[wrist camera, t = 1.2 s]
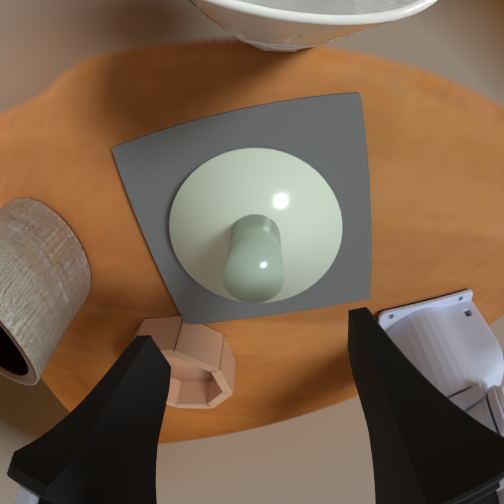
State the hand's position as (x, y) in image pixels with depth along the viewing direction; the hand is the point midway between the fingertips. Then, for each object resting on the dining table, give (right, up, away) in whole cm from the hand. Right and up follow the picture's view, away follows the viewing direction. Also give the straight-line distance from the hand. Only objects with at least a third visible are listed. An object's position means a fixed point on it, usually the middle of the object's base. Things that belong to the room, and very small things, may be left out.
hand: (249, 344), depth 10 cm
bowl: (-6, -6, +15) cm, 17 cm away
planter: (-17, +3, +10) cm, 20 cm away
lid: (0, +5, +7) cm, 9 cm away
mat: (0, +5, +8) cm, 9 cm away
